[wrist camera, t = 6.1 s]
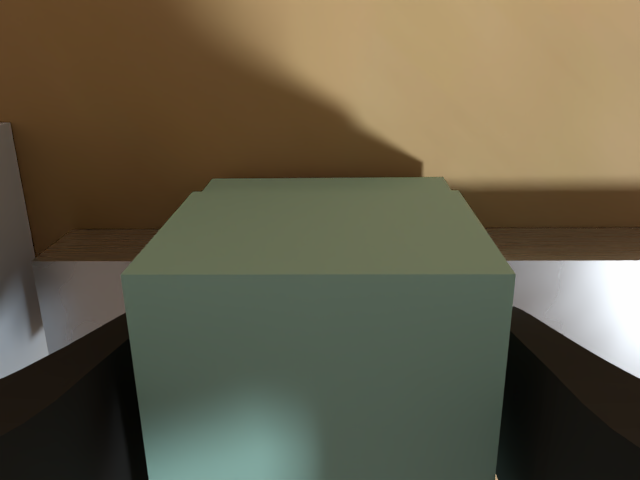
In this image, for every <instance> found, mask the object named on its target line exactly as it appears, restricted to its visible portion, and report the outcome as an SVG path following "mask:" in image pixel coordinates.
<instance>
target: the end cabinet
mask: <svg viewBox="0 0 640 480" xmlns="http://www.w3.org/2000/svg"><path fill="white" fill-rule="evenodd" d="M34 259H35V253H34V248H33V242H32V237H31V232H30V226H29V221H28V216H27V210H26V205H25V200H24V194H23V189H22V183H21V178H20V173H19V167H18V162H17V157H16V151H15V146H14V141H13V135H12V130H11V125H10V122H7V123H0V379H1V378H3V377H6V376H8V375H10V374H12V373H14V372H16V371H19V370H21V369H23V368H25V367H26V366H28V365H30V364H32V363H34V362H36V361H38V360H40V359H42V358H44V357H46V356H48V355H49V353H48V348H47V343H46V337H45V332H44V327H43V322H42V316H41V311H40V306H39V300H38V295H37V290H36V285H35V279H34V274H33V269H32V264H31V261H32V260H34Z"/></svg>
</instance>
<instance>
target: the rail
mask: <svg viewBox="0 0 640 480" xmlns="http://www.w3.org/2000/svg"><path fill="white" fill-rule="evenodd" d="M159 230H160V229H73V230H71V231H70V232H68V233H67V234H66V235H64V236H63V237H62V238H61V239H59V240H58V241H57V242H55V243H54V244H53V245H52V246H50V247H49V248H48V249H46V250H45V251H44V252H43V253H41V254H40V255H39V256H37V257H36V258H35V259H34V260H32V261H31V264H32V269H33V274H34V279H35V285H36V290H37V295H38V300H39V306H40V311H41V316H42V322H43V327H44V332H45V337H46V343H47V348H48V353H49V355H50V354H52V353H54V352H56V351H57V350H59V349H61V348H63V347H65V346H67V345H69V344H71V343H72V342H74V341H76V340H78V339H79V338H81V337H83V336H85V335H87V334H88V333H90V332H92V331H94V330H95V329H97V328H99V327H101V326H102V325H104V324H106V323H108V322H109V321H111V320H113V319H115V318H117V317H118V316H120V315H122V314H124V313H126V310H125V303H124V295H123V288H122V281H121V274H122V272H123V271H124V270H125V269H126V268H127V267H128V266H129V264H130V263H131V262H132V261H133V260H134V259H135V257H136V256H137V255H138V254H139V253H140V252H141V251H142V249H143V248H144V247H145V246H146V245H147V244H148V243H149V241H150V240H151V239H152V238H153V237H154V236H155V234H156V233H157V232H158V231H159ZM485 230H486V231H487V233H488V234H489V236H490V237H491V239H492V240H493V242H494V243H495V245H496V246H497V247H498V249H499V250H500V252H501V253H502V255H503V256H504V258H505V259H506V261H507V262H508V264H509V265H510V267H511V268H512V270H513V271H514V272H515V274H516V277H515V287H514V297H513V306H515V307H517V308H519V309H521V310H523V311H525V312H527V313H529V314H530V315H532V316H534V317H535V318H537V319H539V320H540V321H542V322H543V323H545V324H547V325H548V326H550V327H551V328H553V329H555V330H556V331H558V332H559V333H561V334H563V335H564V336H566V337H567V338H569V339H571V340H572V341H574V342H575V343H577V344H579V345H580V346H582V347H584V348H585V349H587V350H589V351H590V352H592V353H594V354H596V355H597V356H599V357H601V358H603V359H604V360H606V361H608V362H610V363H612V364H613V365H615V366H617V367H619V368H621V369H623V370H625V371H626V372H628V373H630V374H632V375H634V376H636V377H638V378H640V228H485Z"/></svg>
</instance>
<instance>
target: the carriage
mask: <svg viewBox="0 0 640 480" xmlns="http://www.w3.org/2000/svg"><path fill="white" fill-rule="evenodd" d="M515 277H516V274H515V272H514V271H513V270H512V268H511V267H510V265H509V264H508V262H507V261H506V259H505V258H504V256H503V255H502V253H501V252H500V250H499V249H498V247H497V246H496V245H495V243H494V242H493V240H492V239H491V237H490V236H489V234H488V233H487V231H486V230H485V228H484V227H483V225H482V224H481V222H480V221H479V219H478V218H477V217H476V215H475V214H474V212H473V211H472V209H471V208H470V206H469V205H468V203H467V202H466V200H465V199H464V197H463V196H462V194H461V193H460V192H459V190H451V189H450V187H449V186H448V184H447V183H446V181H445V179H444V178H443V177H376V178H224V179H212V180H211V181H210V182H209V183H208V185H207V186H206V187H205V188H204V190H203V191H202V192H192V193H191V194H190V195H189V196H188V198H187V199H186V200H185V201H184V202H183V203H182V205H181V206H180V207H179V208H178V209H177V210H176V211H175V213H174V214H173V215H172V216H171V217H170V218H169V219H168V221H167V222H166V223H165V224H164V225H163V226H162V228H161V229H160V230H159V231H158V232H157V233H156V234H155V236H154V237H153V238H152V239H151V240H150V241H149V243H148V244H147V245H146V246H145V247H144V248H143V249H142V251H141V252H140V253H139V254H138V255H137V256H136V257H135V259H134V260H133V261H132V262H131V263H130V264H129V266H128V267H127V268H126V269H125V270H124V271H123V272H122V274H121V281H122V288H123V295H124V303H125V310H126V317H127V325H128V332H129V339H130V346H131V354H132V361H133V368H134V376H135V383H136V390H137V397H138V405H139V412H140V419H141V427H142V434H143V441H144V448H145V456H146V463H147V470H148V478H149V480H495V474H496V464H497V454H498V444H499V434H500V425H501V415H502V405H503V395H504V385H505V375H506V366H507V356H508V346H509V336H510V326H511V316H512V306H513V297H514V287H515Z"/></svg>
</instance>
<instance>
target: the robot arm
mask: <svg viewBox="0 0 640 480" xmlns="http://www.w3.org/2000/svg"><path fill="white" fill-rule="evenodd" d="M496 475H497V478H498V480H640V378H638V377H636V376H634V375H632V374H630V373H628V372H626V371H625V370H623V369H621V368H619V367H617V366H615V365H613V364H612V363H610V362H608V361H606V360H604V359H603V358H601V357H599V356H597V355H596V354H594V353H592V352H590V351H589V350H587V349H585V348H584V347H582V346H580V345H579V344H577V343H575V342H574V341H572V340H571V339H569V338H567V337H566V336H564V335H563V334H561V333H559V332H558V331H556V330H555V329H553V328H551V327H550V326H548V325H547V324H545V323H543V322H542V321H540V320H539V319H537V318H535V317H534V316H532V315H530V314H529V313H527V312H525V311H523V310H521V309H519V308H517V307H515V306H512V316H511V326H510V336H509V346H508V356H507V366H506V375H505V385H504V395H503V405H502V415H501V425H500V434H499V444H498V454H497V464H496ZM0 480H149V478H148V470H147V463H146V456H145V448H144V441H143V434H142V427H141V419H140V412H139V405H138V397H137V390H136V383H135V376H134V368H133V361H132V354H131V346H130V339H129V332H128V325H127V317H126V313H124V314H122V315H120V316H118V317H117V318H115V319H113V320H111V321H109V322H108V323H106V324H104V325H102V326H101V327H99V328H97V329H95V330H94V331H92V332H90V333H88V334H87V335H85V336H83V337H81V338H79V339H78V340H76V341H74V342H72V343H71V344H69V345H67V346H65V347H63V348H61V349H59V350H57V351H56V352H54V353H52V354H50V355H48V356H46V357H44V358H42V359H40V360H38V361H36V362H34V363H32V364H30V365H28V366H26V367H25V368H23V369H21V370H19V371H16V372H14V373H12V374H10V375H8V376H6V377H3V378H1V379H0Z"/></svg>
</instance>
